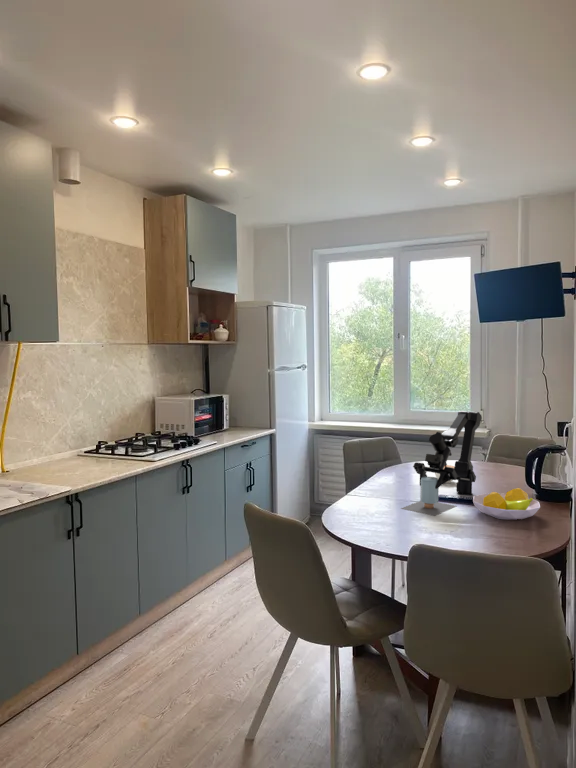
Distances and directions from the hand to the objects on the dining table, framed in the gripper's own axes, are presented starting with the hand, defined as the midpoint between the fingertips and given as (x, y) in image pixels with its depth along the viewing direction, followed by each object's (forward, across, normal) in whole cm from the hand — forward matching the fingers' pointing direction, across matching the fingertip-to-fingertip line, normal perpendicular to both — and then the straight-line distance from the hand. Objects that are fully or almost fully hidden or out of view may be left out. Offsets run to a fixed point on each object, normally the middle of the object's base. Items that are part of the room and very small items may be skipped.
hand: (427, 486), depth 248 cm
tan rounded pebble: (+6, 0, +7) cm, 9 cm away
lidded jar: (-29, -18, +43) cm, 55 cm away
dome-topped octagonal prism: (+4, 0, +6) cm, 7 cm away
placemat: (+6, 0, +8) cm, 10 cm away
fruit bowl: (-2, +29, +16) cm, 33 cm away
